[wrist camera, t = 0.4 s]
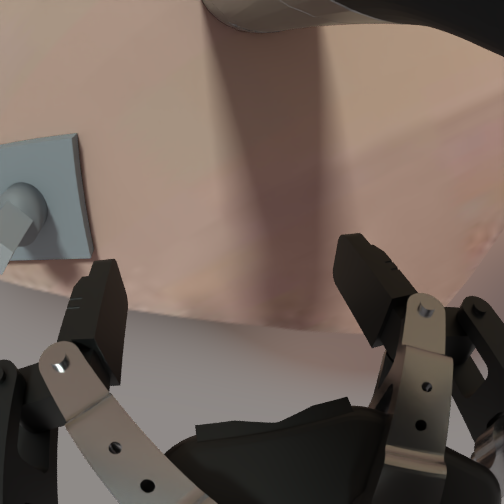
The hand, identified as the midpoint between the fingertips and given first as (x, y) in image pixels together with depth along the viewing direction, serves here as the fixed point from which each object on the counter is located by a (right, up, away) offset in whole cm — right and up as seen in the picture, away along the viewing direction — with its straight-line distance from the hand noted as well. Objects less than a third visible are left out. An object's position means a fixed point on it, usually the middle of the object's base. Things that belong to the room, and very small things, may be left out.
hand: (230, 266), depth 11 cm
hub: (-20, +5, +13) cm, 25 cm away
